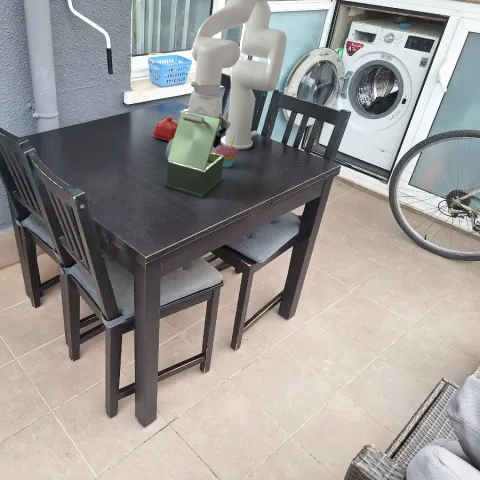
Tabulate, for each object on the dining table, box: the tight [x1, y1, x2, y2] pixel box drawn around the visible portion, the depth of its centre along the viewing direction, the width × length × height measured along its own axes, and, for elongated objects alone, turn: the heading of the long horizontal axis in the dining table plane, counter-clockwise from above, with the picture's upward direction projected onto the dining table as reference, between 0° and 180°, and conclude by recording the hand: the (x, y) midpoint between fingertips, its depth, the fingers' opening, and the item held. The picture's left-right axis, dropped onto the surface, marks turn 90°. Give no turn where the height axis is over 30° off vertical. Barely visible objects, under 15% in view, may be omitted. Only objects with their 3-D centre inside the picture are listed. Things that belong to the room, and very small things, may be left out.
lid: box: [167, 110, 220, 171], centre depth 133 cm, size 16×13×6 cm
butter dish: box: [150, 115, 179, 142], centre depth 178 cm, size 12×12×8 cm
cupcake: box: [214, 135, 240, 168], centre depth 157 cm, size 9×8×12 cm
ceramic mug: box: [165, 139, 174, 160], centre depth 160 cm, size 11×8×8 cm
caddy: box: [166, 151, 224, 198], centre depth 145 cm, size 15×13×9 cm
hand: (202, 142), depth 142 cm, fingers open, 9 cm apart
